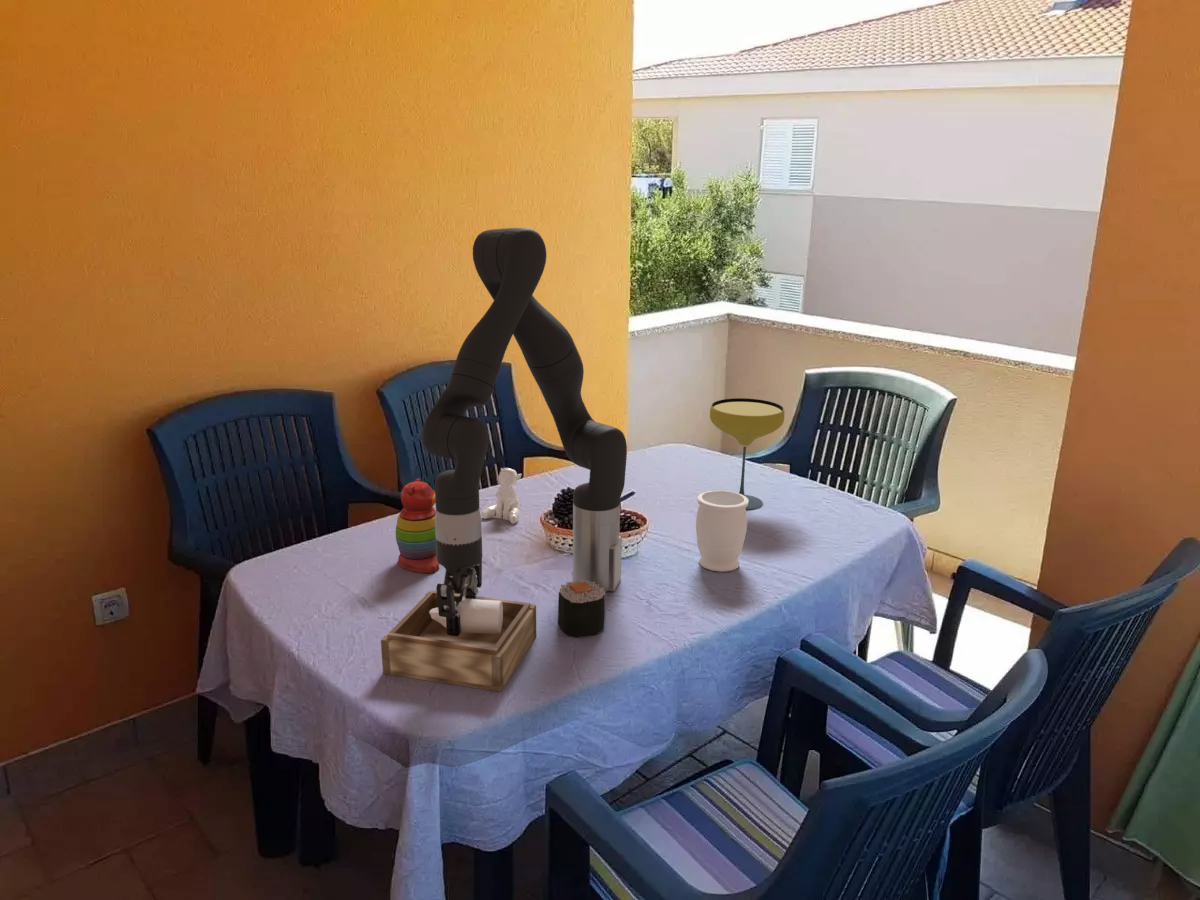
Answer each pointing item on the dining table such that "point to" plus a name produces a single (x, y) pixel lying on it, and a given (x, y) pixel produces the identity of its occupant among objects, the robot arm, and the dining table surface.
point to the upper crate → (433, 633)
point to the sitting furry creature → (505, 498)
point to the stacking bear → (417, 528)
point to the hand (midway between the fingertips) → (462, 624)
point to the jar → (721, 529)
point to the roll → (476, 616)
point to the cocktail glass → (747, 426)
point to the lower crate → (460, 659)
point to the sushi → (581, 608)
